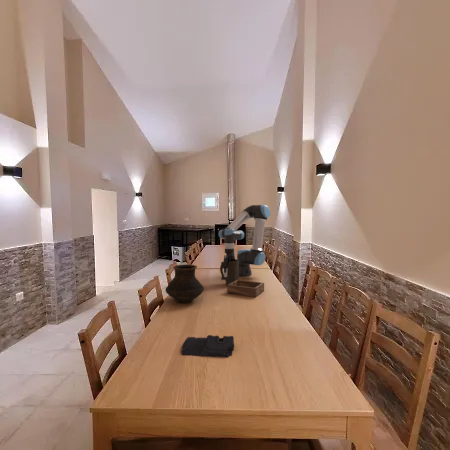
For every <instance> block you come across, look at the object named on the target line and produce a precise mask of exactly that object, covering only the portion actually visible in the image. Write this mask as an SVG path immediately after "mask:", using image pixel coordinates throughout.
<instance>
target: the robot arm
mask: <svg viewBox="0 0 450 450" xmlns="http://www.w3.org/2000/svg"><path fill="white" fill-rule="evenodd" d="M270 216H271V209H270V207H269V206H268V205H266V204H252V205H248V206H247V207H246V208H244V209H243V210H242V211H241V212H240V213H239V215H238V216H237V217H236V218H235V219H234V220H233V221H232V222H231V223H229V225H227V227H225V228H224V229H220V230H219V231H218V237H219V238H220V239H223V240H224V257H223V261H222V262H223V266H222V268H223V274H224V277H227V266H228V263H229V261H234V260H233V259H236V260H238V262H239V263H238V272H239V277H250V276H252V274H253V273H252V269H251V265H253V266H262V265H263V264H264V263H265V261H266V254H265V253H264V249H263V243H264V233H265V224H266V222H267V221H268V219H269V218H270ZM252 218H253V220H254V228H253V229H254V230H253V231H254V232H253V237H252V238H253V239H252V246H251V248H250V249H249V248H248V249H238V250H237V252H236V255H235V241H240V240H243V239H244V238H245V232H244V231H243V230H238V229H239V228H240V227H241V226H242V225H243V224H244V223H245V222H246V221H249V220H250V219H252ZM235 256H236V257H235Z"/></svg>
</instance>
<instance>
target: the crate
mask: <svg viewBox="0 0 450 450" xmlns="http://www.w3.org/2000/svg"><path fill="white" fill-rule="evenodd" d="M226 287H227V288H226V289H227V294H231V295H237V296H243V297H244V296H245V297H251V298H257V297H259V295H261V294H262V293H263V292H264V291H265V282H262V281H261V282H259V281H252V280H243V279H239V280H236V281H234V282H232V283H230V284H228V285H226Z"/></svg>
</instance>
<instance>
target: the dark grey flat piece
mask: <svg viewBox="0 0 450 450" xmlns="http://www.w3.org/2000/svg"><path fill="white" fill-rule="evenodd" d="M234 340H235V338H234V336H233V335H227V336H226V335H223V337H220V336H219V335H210V334H209V335H206V337H196V336H187V337H186V339H185V340H184V342H183V343H182V346H181V350H180V353H181V355H182V356H187V357H188V356H192V357H204V358H205V357H206V358H207V357H208V358H209V357H210V358H229V357H232V356H233V351H235V348H234V347H235V341H234Z"/></svg>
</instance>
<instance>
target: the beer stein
mask: <svg viewBox="0 0 450 450" xmlns="http://www.w3.org/2000/svg"><path fill="white" fill-rule="evenodd" d="M233 260H234V261H229V263H228V266H227V277H224V268H222V266H223V261H221V262H220V267H219V271H220V272H219V273H220V275H221V281H225V285H226V286H227V285H228V284H230V283H232V282H234V281H236V280H240V279H239V278H240V276H239V272H238V263H239V262H238V260H237V258H235V259H233Z"/></svg>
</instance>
